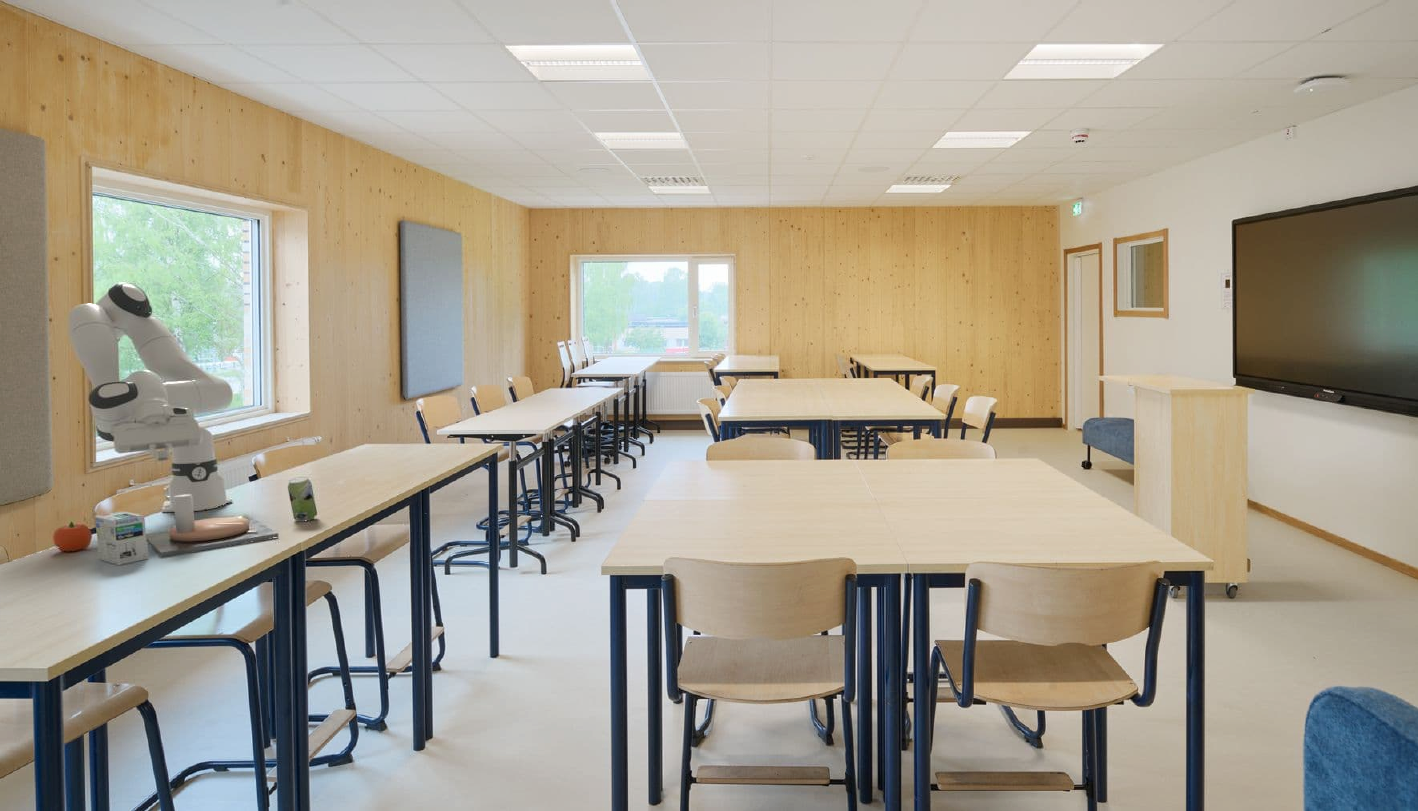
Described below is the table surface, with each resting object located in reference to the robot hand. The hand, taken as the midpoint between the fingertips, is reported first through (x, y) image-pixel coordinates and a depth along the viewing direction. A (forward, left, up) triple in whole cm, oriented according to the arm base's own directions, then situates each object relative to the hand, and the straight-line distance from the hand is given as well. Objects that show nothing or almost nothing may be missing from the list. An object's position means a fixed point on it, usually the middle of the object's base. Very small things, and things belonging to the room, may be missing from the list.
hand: (163, 459), depth 238 cm
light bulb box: (+24, -13, -20) cm, 34 cm away
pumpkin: (+4, -21, -20) cm, 29 cm away
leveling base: (+16, +7, -20) cm, 26 cm away
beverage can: (+12, +31, -20) cm, 39 cm away
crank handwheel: (+16, +7, -18) cm, 25 cm away
